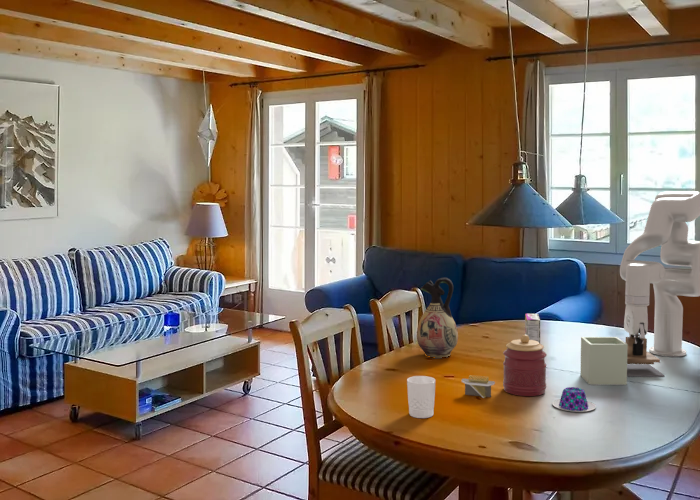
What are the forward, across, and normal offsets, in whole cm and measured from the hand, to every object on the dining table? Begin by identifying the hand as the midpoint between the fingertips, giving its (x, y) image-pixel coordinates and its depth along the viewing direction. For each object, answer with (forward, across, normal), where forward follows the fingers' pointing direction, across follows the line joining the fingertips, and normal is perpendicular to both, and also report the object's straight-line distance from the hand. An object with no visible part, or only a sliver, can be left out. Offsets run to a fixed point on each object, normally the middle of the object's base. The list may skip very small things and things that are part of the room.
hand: (635, 353), depth 234 cm
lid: (+2, 0, 0) cm, 2 cm away
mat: (+6, 0, 0) cm, 6 cm away
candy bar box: (+6, -13, -32) cm, 35 cm away
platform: (+7, +29, -56) cm, 64 cm away
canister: (+7, +23, -41) cm, 48 cm away
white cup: (+7, +46, -74) cm, 87 cm away
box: (+6, +11, -14) cm, 19 cm away
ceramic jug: (+6, -20, -65) cm, 68 cm away
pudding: (+7, +38, -30) cm, 49 cm away
